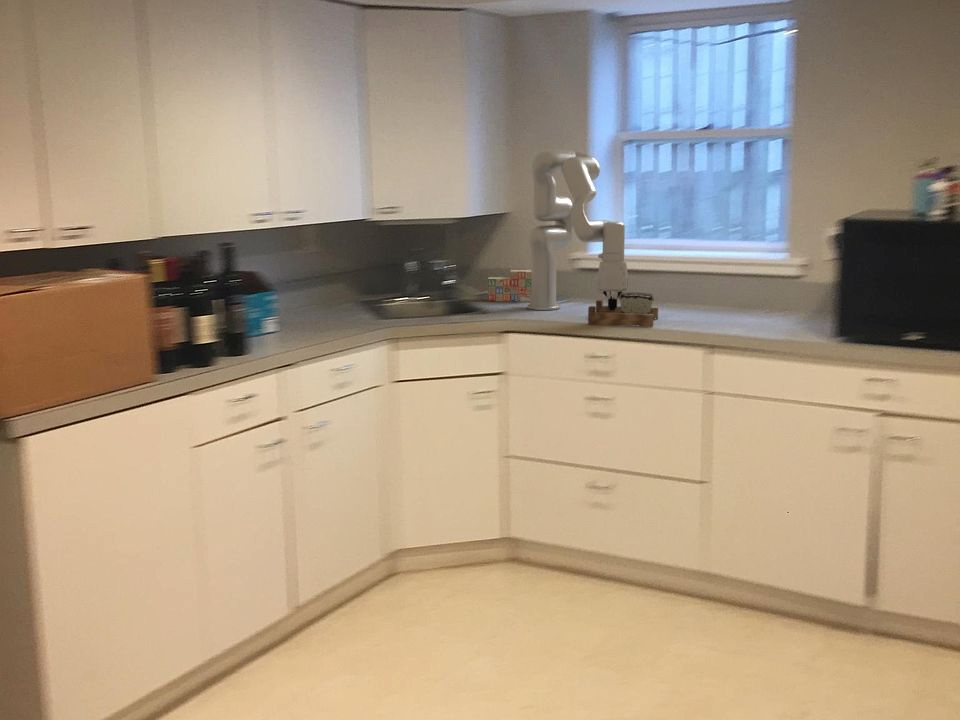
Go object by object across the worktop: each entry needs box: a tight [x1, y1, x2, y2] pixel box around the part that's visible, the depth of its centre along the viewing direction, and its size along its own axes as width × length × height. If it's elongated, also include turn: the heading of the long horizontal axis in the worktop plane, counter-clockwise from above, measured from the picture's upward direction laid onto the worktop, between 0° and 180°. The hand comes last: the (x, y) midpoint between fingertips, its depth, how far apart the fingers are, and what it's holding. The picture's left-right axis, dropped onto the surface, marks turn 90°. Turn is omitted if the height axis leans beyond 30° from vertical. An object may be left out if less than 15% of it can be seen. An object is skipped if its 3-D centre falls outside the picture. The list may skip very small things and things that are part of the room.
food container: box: [618, 291, 655, 314], centre depth 348 cm, size 12×6×10 cm, turn 72°
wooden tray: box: [587, 299, 659, 327], centre depth 350 cm, size 22×20×6 cm
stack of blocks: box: [487, 269, 531, 302], centre depth 405 cm, size 21×6×12 cm, turn 86°
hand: (612, 309), depth 350 cm, fingers closed
